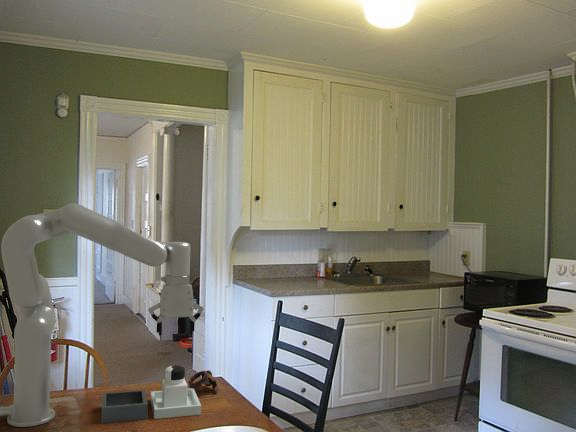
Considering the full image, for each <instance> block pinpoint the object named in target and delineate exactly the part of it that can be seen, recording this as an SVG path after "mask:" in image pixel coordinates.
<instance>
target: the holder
mask: <svg viewBox="0 0 576 432" xmlns="http://www.w3.org/2000/svg"><path fill="white" fill-rule="evenodd" d="M146 391H147V390H146V389H135V390H122V391H121V390H119V391H111V392H108V391H107V392H102V394H101V395H102V396H101V398H102V399H101V413H100V414H101V416H100V418H101V419H100V420H101V421H100V422H101V424H109V423H120V422H121V423H122V422H130V421H131V422H132V421H140V420H148V412H149V411H148V408H149V406H148V405H149V404H148V398H147V393H146Z"/></svg>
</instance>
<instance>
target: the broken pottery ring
mask: <svg viewBox="0 0 576 432" xmlns="http://www.w3.org/2000/svg"><path fill="white" fill-rule="evenodd" d="M200 377H201V378H200ZM198 378H200V379H199V380H197V379H198ZM195 380H197V381H195ZM187 385H189V386H188V389H189V388H194V390H195V391H197V390H201V391H202V390H203V385H205V387H212V390H214V393H215V395H218V393H219V386H218V383H217V380H216V378H215V377H214V376H213V373H212V371H211V370H200V371H199V372H196V373H195V374H194V375H192V376H191V377H190V379H189V381H188V382H187Z"/></svg>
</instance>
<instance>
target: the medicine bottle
mask: <svg viewBox="0 0 576 432" xmlns="http://www.w3.org/2000/svg"><path fill="white" fill-rule="evenodd" d="M164 373H165V376H164V378H165V379H163V380H162V383H161V391H162V404H163V407H164V408H166V407H177V406H187V390H188V389H189V386H188V385H189V384H188V382H187V381H186V380H185V377H186V376H185V375H186V374H185V373H186V369H185V367H183V366H181V365H170V366H168V367H166V369H165V372H164Z"/></svg>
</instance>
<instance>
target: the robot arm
mask: <svg viewBox="0 0 576 432" xmlns="http://www.w3.org/2000/svg"><path fill="white" fill-rule="evenodd" d="M68 234H74V235H77V236H79V237H82V238H83V239H86V240H88V241H91V242H92V243H95V244H98V245H100V246H102V247H104V248H107V249H108V250H110V251H113V252H117V253H119V254H120V255H123V256H126V257H128V258H130V259H132V260H134V261H137V262H139V263H141V264H144V265H147V266H149V267H155V268H156V267H160V266H162V265H163V264H164V263H165V275H164V276H160V282H164V284H162V287H161V288H162V289H161V293H160V302H157V303H156V304H154V305H152V306H150V307H148V309H147V310H148V312H149V314H150V316H151V318H152V319H153V320H154V321H155V322H156V333H158V336H160V337H161V336H162V332H163V323H162V321H163V320H164V318H188V319H189V321H188V324H189V325H188V334H190V335H193V332H195V325H196V322H197V320H198V319H199V318H200V316H201V315H202V313H203V311H204V310H205V309H204V307H203V306H202V305H199V304H198V303H196V302H194V294H193V293H194V292H193V285H192V284H190V279H191V278H190V273H191V270H190V269H191V243H189V242H188V241H187V242H185V241H169V242H168V241H160V240H153V239H152V238H151V239H150V238H148V237H146V236H145V235H142V234H140V233H137V232H136V231H133V230H132V229H130V228H128V227H126V226H125V225H124V224H122V223H121V222H119V221H116V220H115V219H112V218H110V217H108V216H106V215H103V214H101V213H99V212H97V211H94V210H92V209H90V208H88V207H85V206H84V205H81V203H80V204H79V203H68V204H66V205H64V206H63V207H60V208H57V209H53V210H49V211H45V212H41V213H37V214H30V215H26V216H23V217H21V218H19V219H18V220H17V221H14V222H13V223H12V224H11V225H10V226H9V227H8V229H6V231H5V233H4V235H3V237H2V239H1V244H0V245H1V246H0V250H1V251H0V252H1V257H2V262H3V267H4V275H5V280H6V283H7V289H8V294H9V298H10V301H11V302H12V304H13V305H14V306H15V307H17V308H18V309H19V314H20V318H19V319H18V320H17V322H16V323H15V327H14V332H13V333H14V334H13V339H14V340H13V341H14V382H13V383H14V385H13V386H14V387H13V388H14V389H13V402H12V404H9V405H8V406H0V417H1V416H7V418H6V419H7V420H6V421H7V424H8V425H10V426H13V427H18V428H26V427H27V428H28V427H35V426H39V425H43V424H46V423H48V422H50V421H52V420H53V419H54V418H55V416H56V411H55V410H54V408H51V407H50V399H51V372H52V371H51V370H52V369H51V366H52V365H51V362H52V332H53V329H54V327H55V324H56V314H55V308H54V303H53V299H52V294H51V291H50V286H49V282H48V280H47V279H46V277H44V276H43V275H42V274H40V272H39V269H38V268H39V267H38V263H37V257H36V255H35V247H36V245H37V244H40V243H42V242H45V241H47V240H51V239H55V238H59V237H61V236H65V235H68ZM194 308H195V309H197V312H196V313H195V314H194ZM158 309H159V315H158V316H157V314H156V313H155V311H156V310H158Z"/></svg>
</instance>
